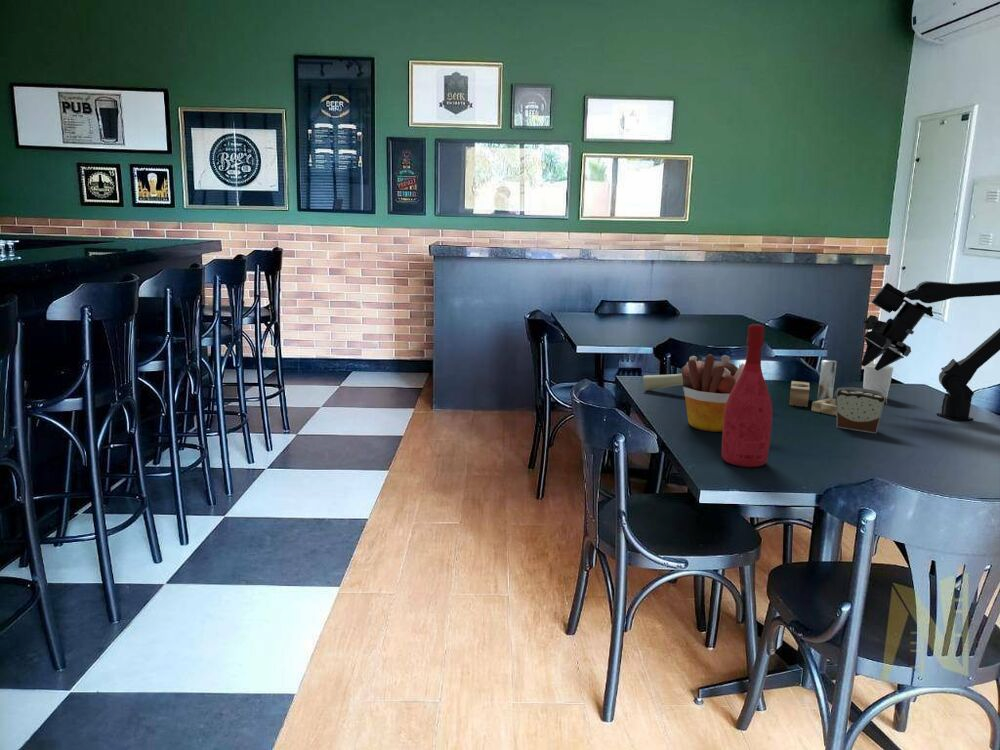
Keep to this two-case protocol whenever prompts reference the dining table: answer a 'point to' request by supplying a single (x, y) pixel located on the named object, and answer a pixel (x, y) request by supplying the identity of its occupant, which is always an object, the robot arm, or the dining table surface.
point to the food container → (859, 409)
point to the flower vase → (662, 381)
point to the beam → (799, 393)
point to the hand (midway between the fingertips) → (869, 367)
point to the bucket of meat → (708, 390)
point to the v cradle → (825, 406)
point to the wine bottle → (748, 410)
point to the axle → (826, 379)
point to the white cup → (877, 378)
